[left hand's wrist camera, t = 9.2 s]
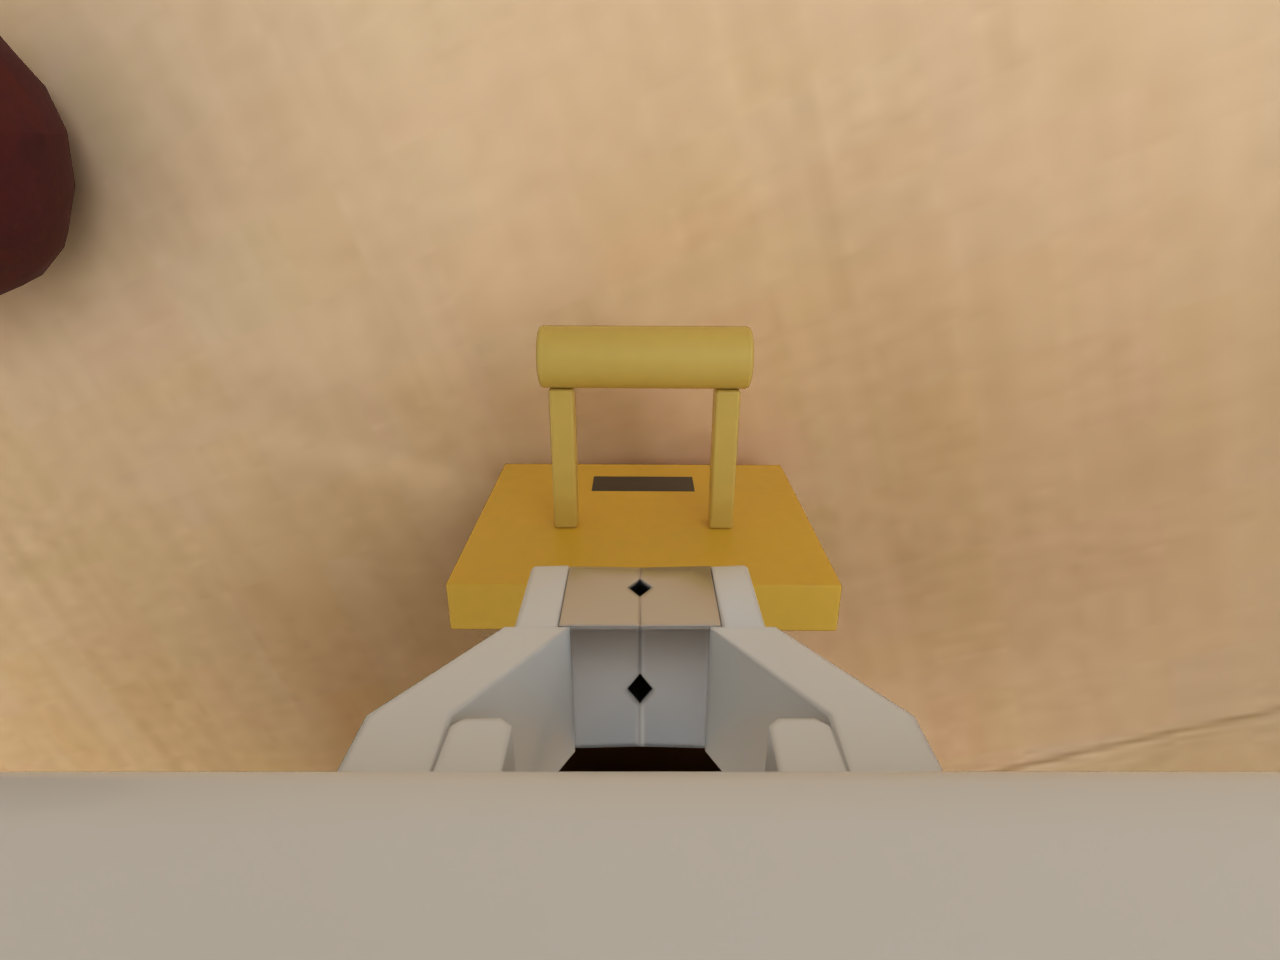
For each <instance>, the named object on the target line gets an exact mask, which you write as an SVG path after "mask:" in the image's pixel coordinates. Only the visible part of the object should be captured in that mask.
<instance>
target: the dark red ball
mask: <svg viewBox="0 0 1280 960" xmlns="http://www.w3.org/2000/svg"><path fill="white" fill-rule="evenodd" d="M74 189H75V182H74V175H73V169H72V162H71V156H70V149H69V142H68V136H67V131H66V128H65V126H64V124H63V122H62V120H61V118H60V116H59V114H58V112H57V110H56V108H55V106H54V103H53V101H52V99H51V97H50V95H49V93H48V91H47V89H46V87H45V86H44V85H43V83H42V82H41V81H40V80H39V79H38V78H37V77H36V76H35V75H34V74H33V72H32V71H31V70H30V69H29V68H28V67H27V66H26V65H25V64H24V62H23V61H22V60H21V59H20V58H19V57H18V56H17V55H16V54H15V53H14V51H13V50H12V49H11V48H10V47H9V46H8V44H7V43H6V42H5V41H4V40H3V39H2V37H1V36H0V295H1V294H4V293H6V292H8V291H11V290H13V289H15V288H17V287H20V286H22V285H24V284H26V283H28V282H29V281H31V280H33V279H35V278H37V277H39V276H41V275H43V273H44V272H45V271H46V270H47V268H48V267H49V266H50V264H51V263H52V262H53V261H54V259H55V258H56V257H57V256H58V254H59V253H60V252H61V250H62V249H63V248H64V246H65V242H66V237H67V233H68V228H69V222H70V215H71V209H72V202H73V196H74Z"/></svg>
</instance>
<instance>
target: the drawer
mask: <svg viewBox="0 0 1280 960" xmlns="http://www.w3.org/2000/svg"><path fill="white" fill-rule="evenodd" d="M753 363H754V343H753V335H752V331H751V329H750V328H749V327H740V326H546V325H543V326H541V327H539V330H538V333H537V341H536V366H537V376H538V380H539V383H540V386H542V387H544V388H550V390H549V413H550V436H551V458H552V464H505V466H504V468H503V470H502V472H501V474H500V476H499V478H498V480H497V482H496V484H495V486H494V488H493V490H492V492H491V494H490V496H489V498H488V500H487V502H486V504H485V506H484V508H483V510H482V512H481V514H480V516H479V518H478V520H477V522H476V525H475V527H474V529H473V531H472V533H471V535H470V537H469V539H468V541H467V543H466V545H465V547H464V549H463V551H462V553H461V555H460V557H459V559H458V561H457V563H456V565H455V567H454V569H453V571H452V573H451V575H450V577H449V579H448V581H447V583H446V590H447V599H448V608H449V617H450V626H451V629H502V628H504V627H515V624H516V621H517V617H518V614H519V611H520V607H521V604H522V600H523V597H524V593H525V590H526V587H527V583H528V580H529V576H530V573H531V569H532V568H533V567H535V566H562V565H568V566H569V567H571V566H588V567H640V568H645V567H687V566H710V567H716V566H738V565H744V566H746V567H747V568H748V570H749V574H750V577H751V580H752V584H753V587H754V591H755V594H756V597H757V601H758V604H759V607H760V611H761V614H762V618H763V621H764V624H765V627H776V628H778V629H779V630H786V631H835V630H836V629H837V621H838V613H839V606H840V598H841V590H842V586H841V583H840V581H839V580H838V578H837V576H836V574H835V572H834V570H833V568H832V566H831V564H830V562H829V560H828V558H827V556H826V554H825V552H824V550H823V548H822V546H821V544H820V542H819V540H818V538H817V536H816V534H815V532H814V530H813V528H812V526H811V524H810V522H809V521H808V519H807V517H806V515H805V513H804V511H803V509H802V507H801V505H800V503H799V501H798V499H797V497H796V495H795V493H794V491H793V489H792V487H791V485H790V483H789V481H788V479H787V477H786V475H785V473H784V471H783V469H782V467H781V466H780V465H736V460H737V443H738V426H739V409H740V391H739V389H745V388H748V387H749V385H750V383H751V379H752V373H753ZM575 388H710V389H714V392H713V414H712V437H711V459H710V465H633V464H577V431H576V397H575ZM558 772H722V771H721V770H720V768H719V767H718V766H717V765H716V764H715V762H714V761H713V760H712V759H711V758H710V756H709V755H708V754H707V753H706V752H705V748H680V747H643V746H635V747H599V748H575V752H574V754H573V755H572V756H571V757H570V758H569V759H568V761H567V762H566V763H565V764H564V765H563V767H562V768H561V769H560V770H559V771H558Z"/></svg>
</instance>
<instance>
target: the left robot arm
mask: <svg viewBox="0 0 1280 960" xmlns="http://www.w3.org/2000/svg"><path fill="white" fill-rule="evenodd" d="M635 746H643V747H680V748H705V752H706V753H707V754H708V755H709V756H710V758H711V759H712V760H713V761H714V762H715V764H716V765H717V766H718V767H719V768H720V770H721V771H722V772H558V771H559V770H560V769H561V768H562V767H563V765H564V764H565V763H566V762H567V761H568V759H569V758H570V757H571V756H572V755H573V754H574V752H575V748H599V747H635ZM0 960H1280V771H943V770H942V768H941V766H940V764H939V763H938V761H937V759H936V757H935V755H934V753H933V751H932V749H931V747H930V745H929V743H928V742H927V740H926V738H925V736H924V734H923V732H922V730H921V728H920V726H919V724H918V722H917V720H916V719H915V717H914V716H913V715H911V714H910V713H908V712H907V711H905V710H904V709H902V708H900V707H899V706H897V705H896V704H894V703H893V702H891V701H890V700H888V699H886V698H885V697H883V696H882V695H880V694H879V693H877V692H876V691H874V690H872V689H871V688H869V687H868V686H866V685H865V684H863V683H862V682H860V681H859V680H857V679H855V678H854V677H852V676H851V675H849V674H848V673H846V672H845V671H843V670H841V669H840V668H838V667H837V666H835V665H834V664H832V663H831V662H829V661H827V660H826V659H824V658H823V657H821V656H820V655H818V654H817V653H815V652H814V651H812V650H810V649H809V648H807V647H806V646H804V645H803V644H801V643H800V642H798V641H796V640H795V639H793V638H792V637H790V636H789V635H787V634H786V633H784V632H782V631H781V630H779V629H778V628H776V627H765V624H764V621H763V618H762V614H761V611H760V607H759V604H758V601H757V597H756V594H755V591H754V587H753V584H752V580H751V577H750V574H749V570H748V568H747V567H746V566H744V565H738V566H716V567H710V566H687V567H645V568H640V567H588V566H571V567H569V566H568V565H562V566H535V567H533V568H532V569H531V573H530V576H529V580H528V583H527V587H526V590H525V593H524V597H523V600H522V604H521V607H520V611H519V614H518V617H517V621H516V624H515V627H504V628H502V629H501V630H499V631H497V632H496V633H494V634H493V635H491V636H490V637H488V638H487V639H485V640H483V641H482V642H480V643H479V644H477V645H476V646H474V647H473V648H471V649H469V650H468V651H466V652H465V653H463V654H462V655H460V656H459V657H457V658H455V659H454V660H452V661H451V662H449V663H448V664H446V665H444V666H443V667H441V668H440V669H438V670H437V671H435V672H434V673H432V674H430V675H429V676H427V677H426V678H424V679H423V680H421V681H420V682H418V683H416V684H415V685H413V686H412V687H410V688H409V689H407V690H406V691H404V692H402V693H401V694H399V695H398V696H396V697H395V698H393V699H391V700H390V701H388V702H387V703H385V704H384V705H382V706H381V707H379V708H377V709H376V710H374V711H373V712H371V713H370V714H368V715H367V716H366V717H365V719H364V721H363V723H362V725H361V727H360V729H359V731H358V733H357V734H356V736H355V738H354V740H353V742H352V744H351V746H350V748H349V750H348V751H347V753H346V755H345V757H344V759H343V761H342V763H341V765H340V767H339V768H338V770H337V772H0Z"/></svg>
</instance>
